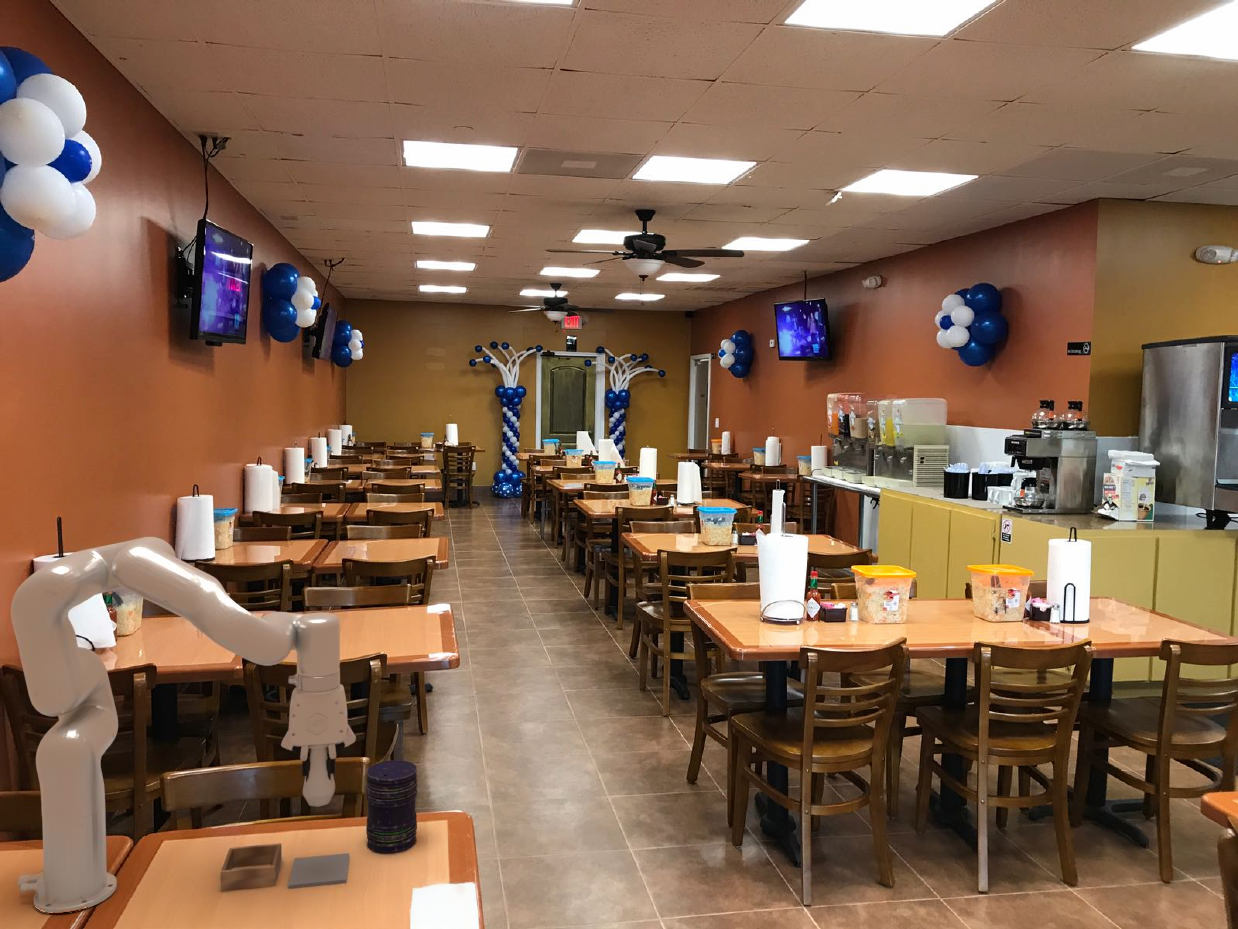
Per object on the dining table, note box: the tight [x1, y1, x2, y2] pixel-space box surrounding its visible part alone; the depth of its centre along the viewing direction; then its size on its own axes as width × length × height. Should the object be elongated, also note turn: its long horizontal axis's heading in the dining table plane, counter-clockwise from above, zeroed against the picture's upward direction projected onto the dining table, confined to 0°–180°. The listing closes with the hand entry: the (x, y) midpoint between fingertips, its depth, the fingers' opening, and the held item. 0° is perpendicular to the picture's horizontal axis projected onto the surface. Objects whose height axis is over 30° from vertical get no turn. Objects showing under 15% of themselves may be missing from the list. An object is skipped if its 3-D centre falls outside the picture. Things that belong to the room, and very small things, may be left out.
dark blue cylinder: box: [365, 759, 418, 855], centre depth 182 cm, size 10×10×15 cm
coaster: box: [287, 852, 350, 889], centre depth 171 cm, size 10×10×1 cm
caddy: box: [219, 842, 283, 892], centre depth 169 cm, size 9×9×4 cm
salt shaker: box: [302, 745, 336, 808], centre depth 169 cm, size 6×6×13 cm
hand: (319, 777), depth 169 cm, fingers closed on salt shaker, 3 cm apart
